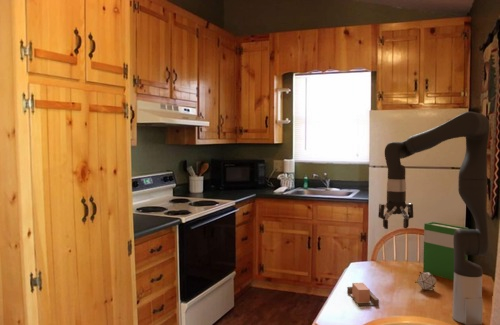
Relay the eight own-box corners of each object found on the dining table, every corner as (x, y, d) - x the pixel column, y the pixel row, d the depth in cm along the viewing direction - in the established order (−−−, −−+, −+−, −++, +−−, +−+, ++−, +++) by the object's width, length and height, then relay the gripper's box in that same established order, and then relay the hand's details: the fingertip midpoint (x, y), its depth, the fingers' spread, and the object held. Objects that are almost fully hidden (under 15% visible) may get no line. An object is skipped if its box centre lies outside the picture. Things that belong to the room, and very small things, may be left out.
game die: (430, 299, 184) (441, 286, 178) (411, 291, 186) (421, 277, 179) (431, 283, 191) (442, 270, 185) (412, 276, 192) (422, 262, 186)
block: (362, 294, 179) (362, 282, 179) (369, 301, 171) (369, 289, 171) (352, 294, 179) (352, 283, 179) (358, 302, 171) (358, 289, 171)
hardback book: (466, 278, 200) (468, 227, 198) (458, 281, 195) (460, 230, 194) (431, 269, 214) (432, 221, 212) (423, 271, 210) (424, 223, 208)
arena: (378, 305, 169) (378, 299, 168) (358, 306, 168) (358, 300, 168) (365, 291, 183) (365, 286, 183) (347, 292, 183) (347, 286, 183)
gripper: (408, 188, 183) (407, 226, 184) (376, 189, 181) (375, 227, 182) (417, 190, 176) (416, 229, 176) (383, 191, 174) (383, 230, 175)
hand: (395, 228), depth 179 cm, fingers open, 8 cm apart
